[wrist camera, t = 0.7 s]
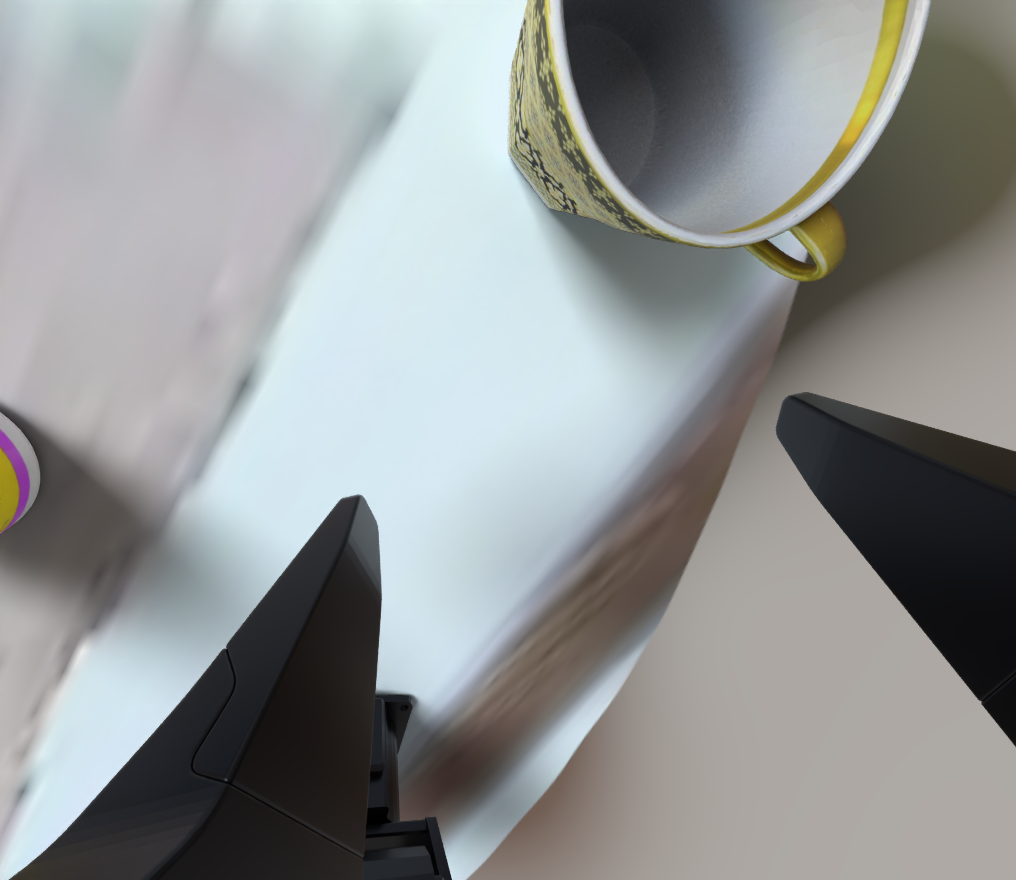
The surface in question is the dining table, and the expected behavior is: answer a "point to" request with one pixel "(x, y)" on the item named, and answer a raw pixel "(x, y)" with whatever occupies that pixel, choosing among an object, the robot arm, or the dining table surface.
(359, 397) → the dining table surface
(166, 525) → the dining table surface
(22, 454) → the supplement bottle
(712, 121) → the ceramic cup
